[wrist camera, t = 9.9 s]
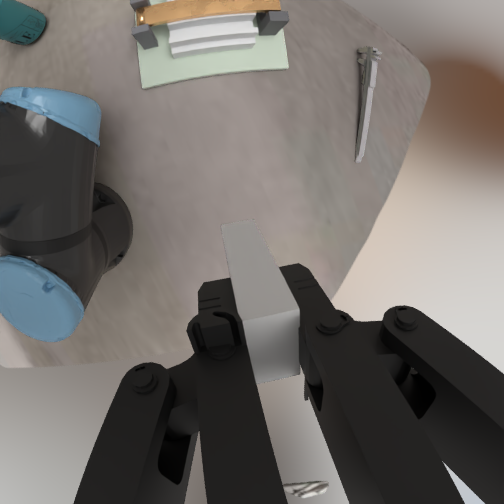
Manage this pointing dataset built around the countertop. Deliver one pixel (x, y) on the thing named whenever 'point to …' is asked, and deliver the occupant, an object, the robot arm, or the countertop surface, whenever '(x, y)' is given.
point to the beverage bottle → (20, 22)
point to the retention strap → (200, 9)
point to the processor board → (208, 62)
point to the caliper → (366, 96)
